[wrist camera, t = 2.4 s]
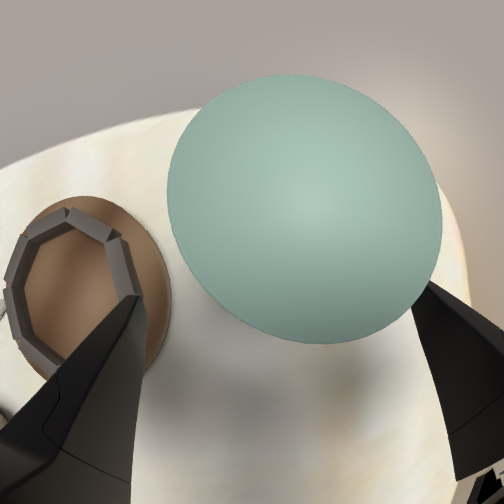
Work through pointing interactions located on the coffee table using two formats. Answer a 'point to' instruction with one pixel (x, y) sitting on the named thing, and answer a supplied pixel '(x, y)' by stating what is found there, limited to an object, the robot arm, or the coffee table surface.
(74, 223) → the segmented ring tray
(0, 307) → the soldier figure
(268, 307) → the column
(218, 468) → the coffee table surface
